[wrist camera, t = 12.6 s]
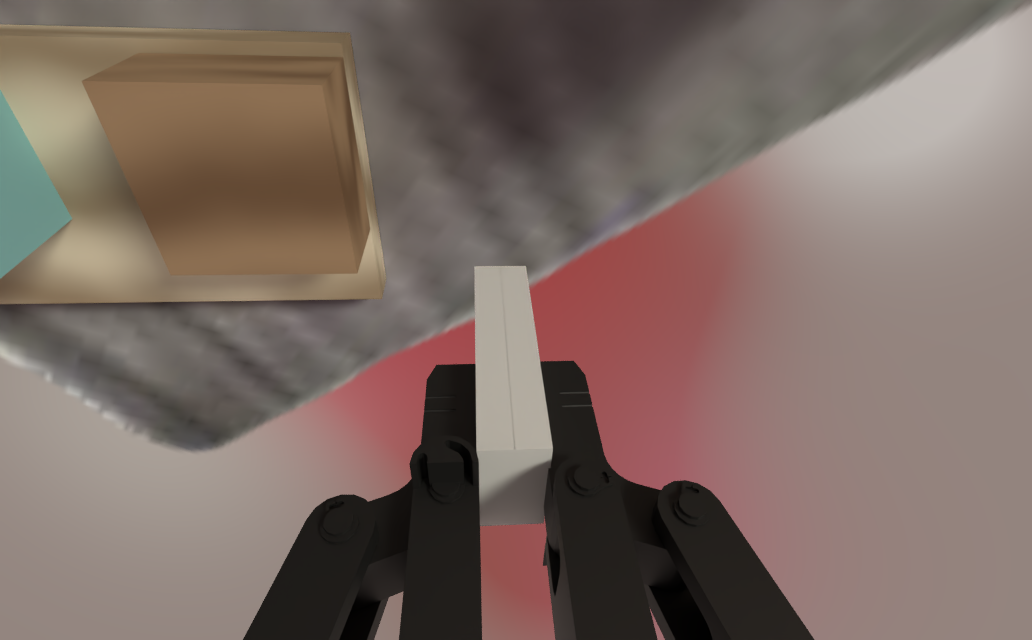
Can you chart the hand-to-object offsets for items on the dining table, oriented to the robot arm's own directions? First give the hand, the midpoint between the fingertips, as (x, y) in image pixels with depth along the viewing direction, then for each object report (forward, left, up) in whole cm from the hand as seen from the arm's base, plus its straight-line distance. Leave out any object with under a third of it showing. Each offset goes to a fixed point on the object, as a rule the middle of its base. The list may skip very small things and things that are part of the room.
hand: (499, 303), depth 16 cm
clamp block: (0, -10, -11) cm, 15 cm away
